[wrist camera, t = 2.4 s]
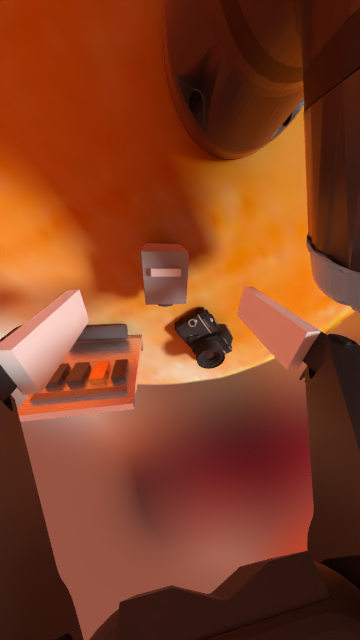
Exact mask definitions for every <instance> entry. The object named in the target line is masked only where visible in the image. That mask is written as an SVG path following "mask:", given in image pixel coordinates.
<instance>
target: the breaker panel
mask: <svg viewBox="0 0 360 640" xmlns="http://www.w3.org/2000/svg"><path fill="white" fill-rule="evenodd" d="M141 351H143V343H142V335H129V336H127V338H112V339H93V340H76V342H75V343H74V345H73V346H72V348H71V349H70V351H69V352H68V354H67V355H66V357H65V358H64V360H63V361H62V363H61V364H60V366H59V367H58V369H57V370H56V372H55V373H54V375H53V376H52V378H51V379H50V381H49V382H48V384H47V385H46V387H45V388H44V390H43V391H42V393H40V394H29V396H28V397H27V398H26V400H25V401H24V402H23V404H22V405H21V406H20V408H19V409H18V415H19V419H20V422H21V421H30V420H39V419H48V418H56V417H66V416H76V415H85V414H94V413H103V412H111V411H121V410H130V409H134V407H135V398H136V389H137V380H138V372H139V363H140V354H141Z"/></svg>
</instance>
